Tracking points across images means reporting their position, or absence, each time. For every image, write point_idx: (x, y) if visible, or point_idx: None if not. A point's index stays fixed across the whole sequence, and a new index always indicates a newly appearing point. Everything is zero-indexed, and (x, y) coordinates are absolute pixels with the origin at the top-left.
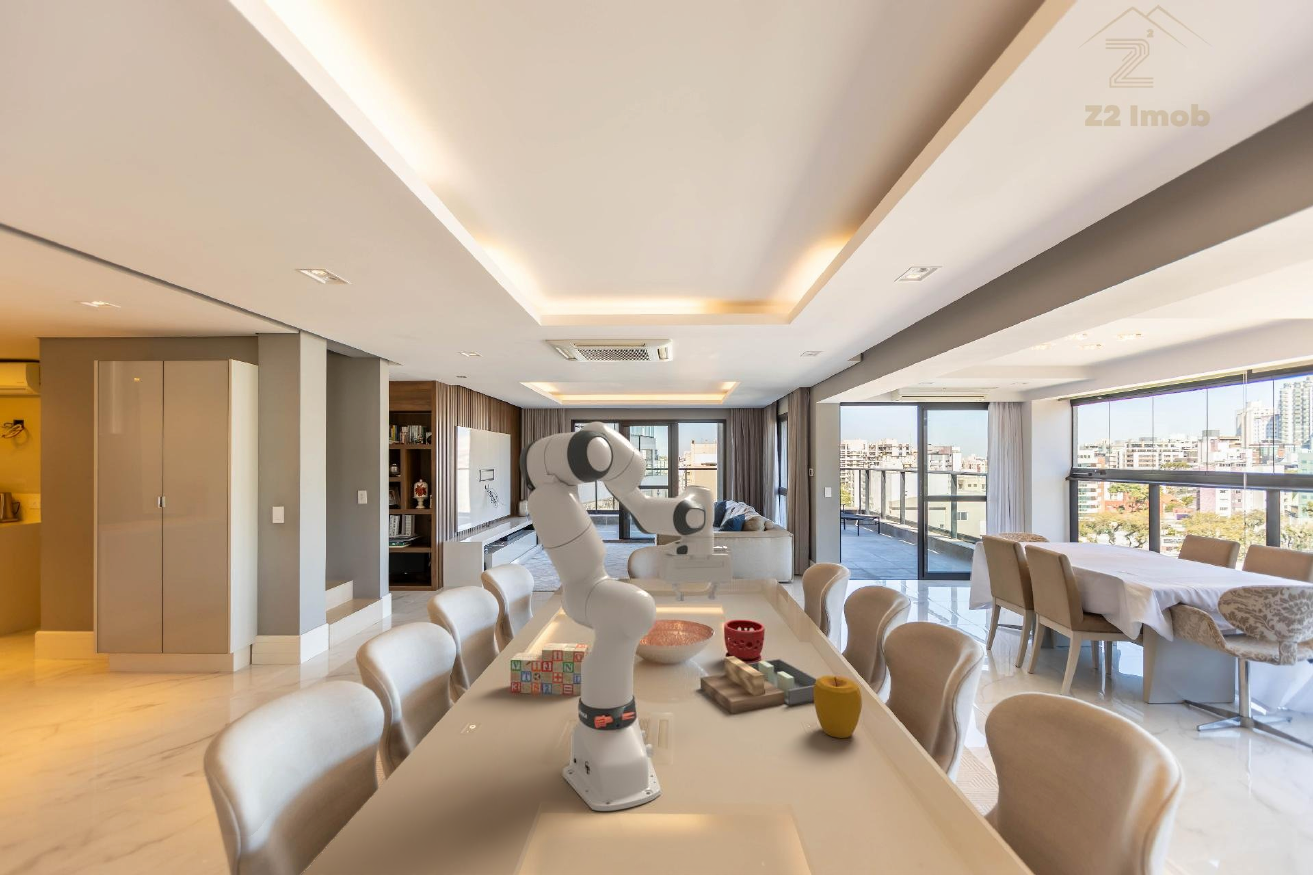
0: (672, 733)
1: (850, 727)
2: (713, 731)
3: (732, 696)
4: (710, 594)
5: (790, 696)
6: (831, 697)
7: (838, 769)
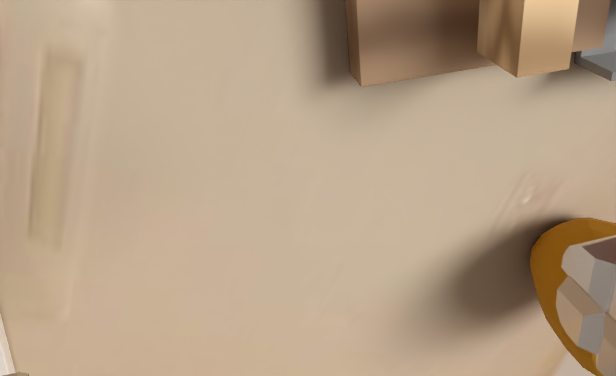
0: (87, 167)
1: None
2: (235, 180)
3: (388, 35)
4: (608, 356)
5: (599, 73)
6: (583, 366)
7: (442, 370)
